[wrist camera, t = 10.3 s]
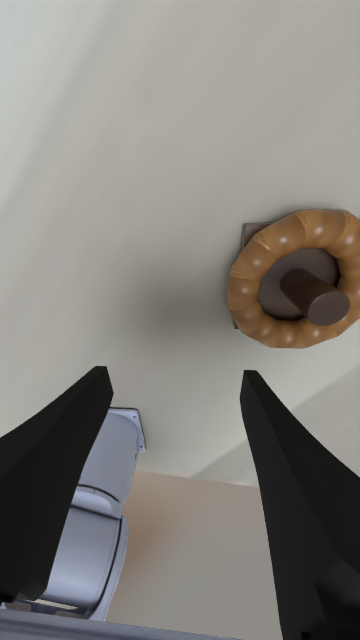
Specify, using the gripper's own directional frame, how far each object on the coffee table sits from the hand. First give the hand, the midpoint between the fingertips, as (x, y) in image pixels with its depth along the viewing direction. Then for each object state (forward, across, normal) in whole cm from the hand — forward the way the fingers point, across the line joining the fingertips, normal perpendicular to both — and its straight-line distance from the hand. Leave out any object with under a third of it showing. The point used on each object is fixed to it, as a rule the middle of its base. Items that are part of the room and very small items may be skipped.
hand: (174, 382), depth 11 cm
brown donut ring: (+8, -9, -2) cm, 12 cm away
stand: (+10, -9, -2) cm, 14 cm away
